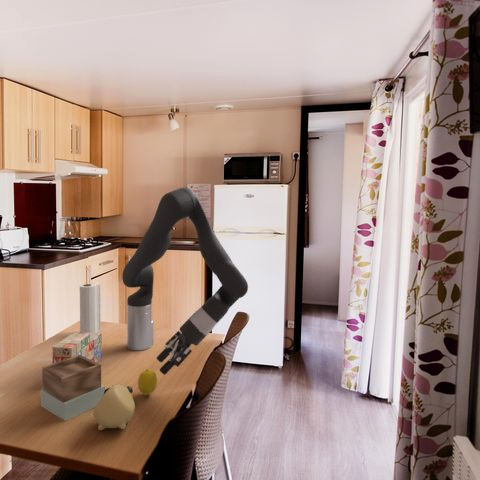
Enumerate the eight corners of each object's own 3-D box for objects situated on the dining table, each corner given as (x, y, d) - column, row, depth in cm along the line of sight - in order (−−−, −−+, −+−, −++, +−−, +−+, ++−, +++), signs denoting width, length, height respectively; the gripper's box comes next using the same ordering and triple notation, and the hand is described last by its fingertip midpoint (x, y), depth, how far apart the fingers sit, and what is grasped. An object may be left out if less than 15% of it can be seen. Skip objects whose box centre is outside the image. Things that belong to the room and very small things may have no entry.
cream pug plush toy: (138, 411, 104) (138, 373, 103) (130, 438, 92) (130, 396, 91) (101, 412, 103) (101, 374, 102) (88, 439, 91) (88, 397, 90)
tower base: (80, 390, 115) (80, 374, 114) (105, 402, 108) (104, 386, 107) (41, 407, 105) (40, 389, 104) (65, 422, 98) (65, 403, 98)
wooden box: (80, 375, 113) (79, 354, 113) (101, 386, 107) (101, 364, 106) (43, 389, 105) (42, 366, 104) (63, 402, 98) (62, 378, 97)
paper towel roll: (77, 336, 158) (76, 286, 156) (85, 331, 164) (84, 283, 162) (93, 337, 157) (92, 287, 155) (100, 332, 163) (100, 284, 161)
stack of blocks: (85, 356, 138) (85, 324, 137) (102, 357, 138) (102, 325, 137) (52, 384, 117) (51, 346, 116) (72, 385, 117) (71, 347, 116)
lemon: (140, 401, 108) (140, 374, 108) (136, 392, 113) (136, 367, 113) (159, 397, 111) (159, 371, 110) (154, 388, 116) (154, 363, 115)
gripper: (185, 311, 121) (149, 349, 118) (194, 325, 107) (153, 368, 105) (201, 326, 123) (166, 364, 120) (212, 342, 109) (172, 384, 107)
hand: (160, 366), depth 113 cm, fingers open, 8 cm apart
